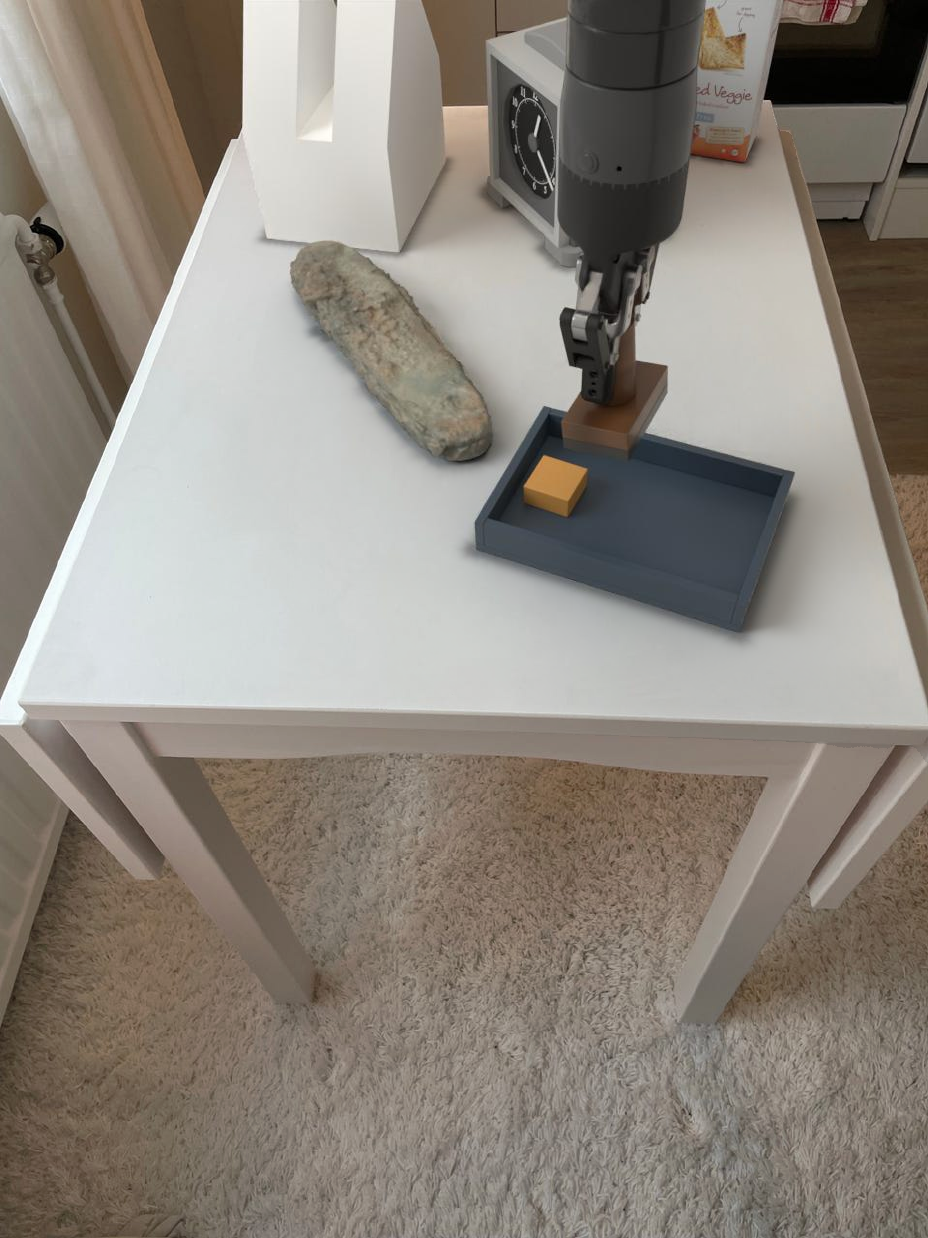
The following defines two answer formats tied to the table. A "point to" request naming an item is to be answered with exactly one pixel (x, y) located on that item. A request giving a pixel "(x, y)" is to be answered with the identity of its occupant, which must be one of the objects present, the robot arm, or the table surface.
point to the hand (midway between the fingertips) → (605, 383)
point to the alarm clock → (528, 128)
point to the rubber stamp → (618, 406)
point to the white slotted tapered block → (341, 118)
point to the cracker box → (733, 75)
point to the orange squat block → (555, 486)
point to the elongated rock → (393, 349)
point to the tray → (644, 522)
